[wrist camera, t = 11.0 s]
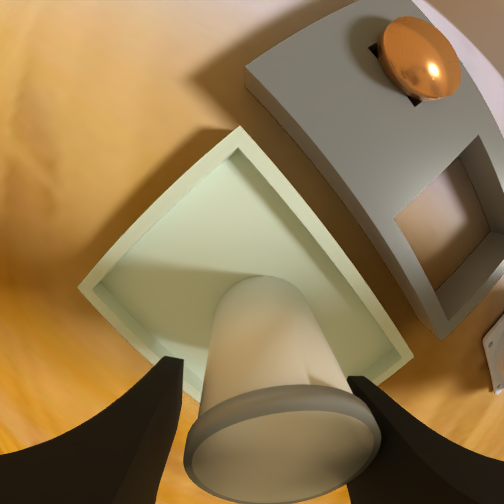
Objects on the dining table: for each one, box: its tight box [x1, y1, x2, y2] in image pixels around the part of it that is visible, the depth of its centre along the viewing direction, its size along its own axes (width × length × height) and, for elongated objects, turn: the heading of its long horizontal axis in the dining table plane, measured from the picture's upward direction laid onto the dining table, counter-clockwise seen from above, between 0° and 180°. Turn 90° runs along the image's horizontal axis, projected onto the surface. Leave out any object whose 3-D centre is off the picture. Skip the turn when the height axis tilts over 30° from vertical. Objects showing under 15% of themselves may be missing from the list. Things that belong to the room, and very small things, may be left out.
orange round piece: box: [377, 16, 461, 101], centre depth 9 cm, size 4×4×4 cm
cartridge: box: [183, 276, 381, 504], centre depth 9 cm, size 5×5×8 cm
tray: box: [77, 126, 414, 403], centre depth 13 cm, size 14×10×2 cm
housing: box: [245, 0, 504, 341], centre depth 11 cm, size 15×9×2 cm, turn 40°
